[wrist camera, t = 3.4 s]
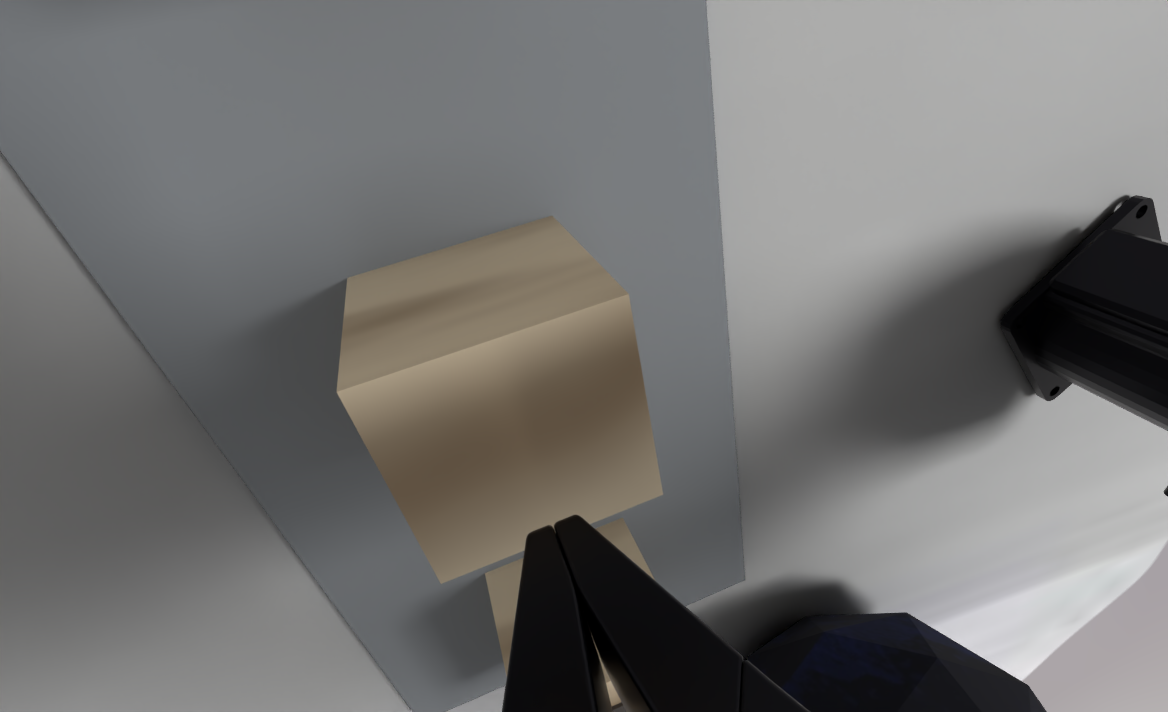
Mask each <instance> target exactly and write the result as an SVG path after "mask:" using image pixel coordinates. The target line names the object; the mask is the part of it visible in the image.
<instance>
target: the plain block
mask: <svg viewBox="0 0 1168 712" xmlns="http://www.w3.org/2000/svg"><path fill="white" fill-rule="evenodd" d="M337 394H338V396H339V398H340V399H341V401H342V403H343V405H344V407H345V409H346V410H347V412H348V414H349V416H350V418H351V420H352V421H353V423H354V425H355V427H356V429H357V431H358V433H359V434H360V436H361V438H362V440H363V442H364V444H365V445H366V447H367V449H368V451H369V453H370V455H371V456H372V458H373V460H374V462H375V464H376V466H377V467H378V469H379V471H380V473H381V475H382V477H383V478H384V480H385V482H386V484H387V486H388V488H389V489H390V491H391V493H392V495H393V497H394V499H395V501H396V502H397V504H398V506H399V508H400V510H401V512H402V513H403V515H404V517H405V519H406V521H407V523H408V524H409V526H410V528H411V530H412V532H413V534H414V535H415V537H416V539H417V541H418V543H419V545H420V546H421V548H422V550H423V552H424V554H425V556H426V558H427V559H428V561H429V563H430V565H431V567H432V569H433V570H434V572H435V574H436V576H437V578H438V580H439V581H440V583H441V584H442V583H445V582H447V581H450V580H452V579H455V578H457V577H460V576H462V575H465V574H467V573H470V572H472V571H475V570H477V569H480V568H482V567H485V566H487V565H490V564H492V563H495V562H497V561H500V560H502V559H504V558H507V557H509V556H512V555H514V554H517V553H519V552H522V551H524V550H525V543H526V537H527V535H528V534H529V533H530V532H532V531H534V530H537V529H539V528H542V527H544V526H547V525H551V526H553V528H554V524H555V523H556V522H557V521H559V520H562V519H565V518H567V517H570V516H572V515H579V516H581V517H582V518H583V519H584V520H586V521H587V522H588V523H589V524H592V523H594V522H597V521H599V520H602V519H604V518H607V517H609V516H611V515H614V514H616V513H619V512H621V511H624V510H626V509H629V508H631V507H634V506H636V505H639V504H641V503H644V502H646V501H649V500H651V499H654V498H656V497H659V496H661V495H663V491H662V485H661V479H660V473H659V467H658V461H657V456H656V450H655V444H654V438H653V432H652V427H651V421H650V415H649V409H648V403H647V397H646V392H645V386H644V380H643V374H642V368H641V362H640V357H639V351H638V345H637V339H636V333H635V328H634V322H633V316H632V310H631V304H630V298H629V294H628V293H627V292H626V291H625V290H624V289H623V288H622V287H621V286H620V284H619V283H618V282H617V281H616V280H615V279H614V278H613V277H612V276H611V275H610V274H609V273H608V272H607V271H606V270H605V269H604V268H603V267H602V266H601V265H600V264H599V263H598V262H597V261H596V260H595V259H594V258H593V257H592V256H591V255H590V254H589V253H588V252H587V251H586V250H585V249H584V248H583V247H582V246H581V245H580V244H579V243H578V241H577V240H576V239H575V238H574V237H573V236H572V235H571V234H570V233H569V232H568V231H567V230H566V229H565V228H564V227H563V226H562V225H561V224H560V223H559V222H558V221H557V220H556V219H555V218H554V217H553V216H549V217H546V218H543V219H539V220H536V221H533V222H529V223H526V224H523V225H520V226H516V227H513V228H510V229H506V230H503V231H500V232H497V233H493V234H490V235H487V236H483V237H480V238H477V239H474V240H470V241H467V242H464V243H460V244H457V245H454V246H451V247H447V248H444V249H441V250H437V251H434V252H431V253H428V254H424V255H421V256H418V257H414V258H411V259H408V260H405V261H401V262H398V263H395V264H391V265H388V266H385V267H382V268H378V269H375V270H372V271H368V272H365V273H362V274H359V275H355V276H352V277H349V278H347V286H346V297H345V307H344V318H343V329H342V339H341V350H340V360H339V371H338V381H337ZM554 530H555V529H554ZM555 533H556V532H555Z"/></svg>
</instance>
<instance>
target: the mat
mask: <svg viewBox="0 0 1168 712" xmlns="http://www.w3.org/2000/svg"><path fill="white" fill-rule="evenodd" d="M0 151H1V153H2V154H3V155H4V157H5V158H6V159H7V161H8V162H9V163H10V165H11V166H12V168H13V169H14V170H15V172H16V173H17V174H18V176H19V177H20V178H21V180H22V181H23V183H24V184H25V185H26V187H27V188H28V189H29V191H30V192H31V193H32V195H33V196H34V197H35V199H36V200H37V202H38V203H39V204H40V206H41V207H42V208H43V210H44V211H45V212H46V214H47V215H48V217H49V218H50V219H51V221H52V222H53V223H54V225H55V226H56V227H57V229H58V230H59V231H60V233H61V234H62V236H63V237H64V238H65V240H66V241H67V242H68V244H69V245H70V246H71V248H72V249H73V251H74V252H75V253H76V255H77V256H78V257H79V259H80V260H81V261H82V263H83V264H84V265H85V267H86V268H87V270H88V271H89V272H90V274H91V275H92V276H93V278H94V279H95V280H96V282H97V283H98V285H99V286H100V287H101V289H102V290H103V291H104V293H105V294H106V295H107V297H108V298H109V299H110V301H111V302H112V304H113V305H114V306H115V308H116V309H117V310H118V312H119V313H120V314H121V316H122V317H123V319H124V320H125V321H126V323H127V324H128V325H129V327H130V328H131V329H132V331H133V332H134V333H135V335H136V336H137V338H138V339H139V340H140V342H141V343H142V344H143V346H144V347H145V348H146V350H147V351H148V353H149V354H150V355H151V357H152V358H153V359H154V361H155V362H156V363H157V365H158V366H159V367H160V369H161V370H162V372H163V373H164V374H165V376H166V377H167V378H168V380H169V381H170V382H171V384H172V385H173V387H174V388H175V389H176V391H177V392H178V393H179V395H180V396H181V397H182V399H183V400H184V401H185V403H186V404H187V406H188V407H189V408H190V410H191V411H192V412H193V414H194V415H195V416H196V418H197V419H198V420H199V422H200V423H201V425H202V426H203V427H204V429H205V430H206V431H207V433H208V434H209V435H210V437H211V438H212V440H213V441H214V442H215V444H216V445H217V446H218V448H219V449H220V450H221V452H222V453H223V454H224V456H225V457H226V459H227V460H228V461H229V463H230V464H231V465H232V467H233V468H234V469H235V471H236V472H237V474H238V475H239V476H240V478H241V479H242V480H243V482H244V483H245V484H246V486H247V487H248V488H249V490H250V491H251V493H252V494H253V495H254V497H255V498H256V499H257V501H258V502H259V503H260V505H261V506H262V508H263V509H264V510H265V512H266V513H267V514H268V516H269V517H270V518H271V520H272V521H273V522H274V524H275V525H276V527H277V528H278V529H279V531H280V532H281V533H282V535H283V536H284V537H285V539H286V540H287V542H288V543H289V544H290V546H291V547H292V548H293V550H294V551H295V552H296V554H297V555H298V556H299V558H300V559H301V561H302V562H303V563H304V565H305V566H306V567H307V569H308V570H309V571H310V573H311V574H312V576H313V577H314V578H315V580H316V581H317V582H318V584H319V585H320V586H321V588H322V589H323V590H324V592H325V593H326V595H327V596H328V597H329V599H330V600H331V601H332V603H333V604H334V605H335V607H336V608H337V610H338V611H339V612H340V614H341V615H342V616H343V618H344V619H345V620H346V622H347V623H348V624H349V626H350V627H351V629H352V630H353V631H354V633H355V634H356V635H357V637H358V638H359V639H360V641H361V642H362V644H363V645H364V646H365V648H366V649H367V650H368V652H369V653H370V654H371V656H372V657H373V658H374V660H375V661H376V663H377V664H378V665H379V667H380V668H381V669H382V671H383V672H384V673H385V675H386V676H387V678H388V679H389V680H390V682H391V683H392V684H393V686H394V687H395V688H396V690H397V691H398V692H399V694H400V695H401V697H402V698H403V699H404V701H405V702H406V703H407V705H408V706H409V707H410V709H411V710H412V711H413V712H446V711H448V710H450V709H453V708H455V707H457V706H459V705H462V704H464V703H466V702H469V701H471V700H473V699H475V698H478V697H480V696H482V695H484V694H487V693H489V692H491V691H494V690H496V689H498V688H500V687H503V686H505V685H506V679H507V676H506V672H505V667H504V662H503V657H502V652H501V648H500V643H499V638H498V633H497V629H496V624H495V619H494V614H493V610H492V605H491V600H490V595H489V591H488V586H487V581H486V576H485V573H487V572H489V571H492V570H494V569H497V568H499V567H502V566H504V565H507V564H509V563H512V562H514V561H516V560H519V559H521V558H523V557H524V551H522V552H519V553H517V554H514V555H512V556H509V557H507V558H504V559H502V560H500V561H497V562H495V563H492V564H490V565H487V566H485V567H482V568H480V569H477V570H475V571H472V572H470V573H467V574H465V575H462V576H460V577H457V578H455V579H452V580H450V581H447V582H445V583H442V584H441V583H440V581H439V580H438V578H437V576H436V574H435V572H434V570H433V569H432V567H431V565H430V563H429V561H428V559H427V558H426V556H425V554H424V552H423V550H422V548H421V546H420V545H419V543H418V541H417V539H416V537H415V535H414V534H413V532H412V530H411V528H410V526H409V524H408V523H407V521H406V519H405V517H404V515H403V513H402V512H401V510H400V508H399V506H398V504H397V502H396V501H395V499H394V497H393V495H392V493H391V491H390V489H389V488H388V486H387V484H386V482H385V480H384V478H383V477H382V475H381V473H380V471H379V469H378V467H377V466H376V464H375V462H374V460H373V458H372V456H371V455H370V453H369V451H368V449H367V447H366V445H365V444H364V442H363V440H362V438H361V436H360V434H359V433H358V431H357V429H356V427H355V425H354V423H353V421H352V420H351V418H350V416H349V414H348V412H347V410H346V409H345V407H344V405H343V403H342V401H341V399H340V398H339V396H338V394H337V381H338V371H339V360H340V350H341V339H342V329H343V318H344V307H345V297H346V286H347V278H349V277H352V276H355V275H359V274H362V273H365V272H368V271H372V270H375V269H378V268H382V267H385V266H388V265H391V264H395V263H398V262H401V261H405V260H408V259H411V258H414V257H418V256H421V255H424V254H428V253H431V252H434V251H437V250H441V249H444V248H447V247H451V246H454V245H457V244H460V243H464V242H467V241H470V240H474V239H477V238H480V237H483V236H487V235H490V234H493V233H497V232H500V231H503V230H506V229H510V228H513V227H516V226H520V225H523V224H526V223H529V222H533V221H536V220H539V219H543V218H546V217H549V216H553V217H554V218H555V219H556V220H557V221H558V222H559V223H560V224H561V225H562V226H563V227H564V228H565V229H566V230H567V231H568V232H569V233H570V234H571V235H572V236H573V237H574V238H575V239H576V240H577V241H578V243H579V244H580V245H581V246H582V247H583V248H584V249H585V250H586V251H587V252H588V253H589V254H590V255H591V256H592V257H593V258H594V259H595V260H596V261H597V262H598V263H599V264H600V265H601V266H602V267H603V268H604V269H605V270H606V271H607V272H608V273H609V274H610V275H611V276H612V277H613V278H614V279H615V280H616V281H617V282H618V283H619V284H620V286H621V287H622V288H623V289H624V290H625V291H626V292H627V293H628V294H629V298H630V304H631V310H632V316H633V322H634V328H635V333H636V339H637V345H638V351H639V357H640V362H641V368H642V374H643V380H644V386H645V392H646V397H647V403H648V409H649V415H650V421H651V427H652V432H653V438H654V444H655V450H656V456H657V461H658V467H659V473H660V479H661V485H662V491H663V495H661V496H659V497H656V498H654V499H651V500H649V501H646V502H644V503H641V504H639V505H636V506H634V507H631V508H629V509H626V510H624V511H621V512H619V513H616V514H614V515H611V516H609V517H607V518H604V519H602V520H599V521H597V522H594V523H592V524H590V525H591V526H593V527H594V528H595V529H596V528H598V527H601V526H603V525H606V524H608V523H611V522H613V521H616V520H618V519H620V518H623V519H624V521H625V523H626V525H627V527H628V529H629V531H630V533H631V535H632V537H633V538H634V540H635V542H636V544H637V546H638V548H639V550H640V552H641V554H642V556H643V558H644V560H645V562H646V564H647V566H648V568H649V569H650V571H651V573H652V575H653V577H654V579H655V581H656V582H657V583H659V584H660V585H661V586H662V587H663V588H664V589H666V590H667V591H668V592H669V593H670V594H671V595H673V596H674V597H675V598H676V599H677V600H678V601H679V602H681V603H682V604H683V605H684V606H687V605H689V604H691V603H694V602H696V601H698V600H701V599H703V598H705V597H707V596H710V595H712V594H714V593H716V592H719V591H721V590H723V589H726V588H728V587H730V586H732V585H735V584H737V583H739V582H741V581H744V580H745V572H744V557H743V542H742V527H741V512H740V497H739V482H738V467H737V453H736V438H735V423H734V408H733V393H732V378H731V363H730V348H729V333H728V319H727V304H726V289H725V274H724V259H723V244H722V229H721V214H720V199H719V184H718V170H717V155H716V140H715V125H714V110H713V95H712V80H711V65H710V50H709V36H708V21H707V6H706V0H0Z"/></svg>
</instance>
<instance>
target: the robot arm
mask: <svg viewBox="0 0 1168 712" xmlns="http://www.w3.org/2000/svg"><path fill="white" fill-rule="evenodd" d="M1001 329H1002V331H1003V333H1004V334H1005V336H1006V338H1007V340H1008V342H1009V344H1010V346H1011V348H1012V349H1013V351H1014V353H1015V355H1016V357H1017V359H1018V361H1019V363H1020V365H1021V366H1022V368H1023V370H1024V372H1025V374H1026V376H1027V378H1028V380H1029V382H1030V383H1031V385H1032V387H1033V389H1034V391H1035V393H1036V395H1038V396H1039V397H1041V398H1043V399H1045V400H1046V401H1051V400H1053V399H1055V398H1056V397H1057V396H1059V395H1060V394H1061V393H1062V392H1063V391H1064V390H1065V389H1066V388H1068V387H1069V386H1070V385H1071V384H1072V383H1073V384H1075V385H1077V386H1079V387H1081V388H1083V389H1085V390H1087V391H1089V392H1091V393H1093V394H1095V395H1097V396H1099V397H1101V398H1103V399H1105V400H1107V401H1109V402H1111V403H1113V404H1115V405H1117V406H1119V407H1121V408H1123V409H1125V410H1127V411H1129V412H1131V413H1133V414H1135V415H1137V416H1139V417H1141V418H1143V419H1145V420H1147V421H1149V422H1151V423H1153V424H1155V425H1157V426H1159V427H1161V428H1163V429H1165V430H1167V431H1168V243H1166V242H1162V241H1161V236H1160V231H1159V227H1158V222H1157V217H1156V212H1155V208H1154V203H1153V200H1152V199H1151V198H1146V197H1142V196H1137V195H1136V196H1133V197H1131V198H1130V199H1128V200H1127V201H1126V202H1125V203H1124V204H1123V205H1122V206H1121V207H1119V208H1118V209H1117V210H1116V211H1115V212H1114V213H1113V214H1112V215H1111V216H1110V217H1109V218H1108V219H1107V220H1106V221H1104V222H1103V223H1102V224H1101V225H1100V226H1099V227H1098V228H1097V229H1096V230H1095V231H1094V232H1093V233H1092V234H1090V235H1089V236H1088V237H1087V238H1086V239H1085V240H1084V241H1083V242H1082V243H1081V244H1080V245H1079V246H1078V247H1077V248H1075V249H1074V250H1073V251H1072V252H1071V253H1070V254H1069V255H1068V256H1067V257H1066V258H1065V259H1064V260H1063V261H1061V262H1060V263H1059V264H1058V265H1057V266H1056V267H1055V268H1054V269H1053V270H1052V271H1051V272H1050V273H1049V274H1048V275H1046V276H1045V277H1044V278H1043V279H1042V280H1041V281H1040V282H1039V283H1038V284H1037V285H1036V286H1035V287H1034V288H1032V289H1031V290H1030V291H1029V292H1028V293H1027V294H1026V295H1025V296H1024V297H1023V298H1022V299H1021V300H1020V301H1019V302H1017V303H1016V304H1015V305H1014V306H1013V307H1012V308H1011V309H1010V310H1009V311H1008V312H1007V313H1006V314H1005V315H1004V317H1003V319H1002V321H1001ZM1164 494H1165V495H1166V496H1168V486H1167V488H1166V489H1165V490H1164ZM554 529H555V530H554ZM555 532H556V533H555ZM595 645H596V646H595ZM596 648H597V649H596ZM597 650H598V652H597ZM598 653H599V656H600V658H601V661H602V663H603V665H604V667H605V669H606V672H607V674H608V676H609V678H610V680H611V682H612V684H613V686H614V688H615V690H616V692H617V694H618V696H619V698H620V700H621V702H622V704H623V706H624V708H625V710H626V712H810V711H809V710H807V709H806V708H805V707H803V706H802V705H801V704H800V703H799V702H797V701H796V700H795V699H794V698H792V697H791V696H790V695H789V694H787V693H786V692H785V691H784V690H783V689H781V688H780V687H779V686H778V685H776V684H775V683H774V682H773V681H771V680H770V679H769V678H768V677H767V676H766V675H764V674H763V673H762V672H761V671H760V670H759V669H757V668H756V667H755V666H754V665H753V664H752V663H751V662H749V661H748V660H745V661H744V662H743V656H742V655H741V654H740V653H739V652H737V651H736V650H735V649H734V648H733V647H732V646H730V645H729V644H728V643H727V642H726V641H725V640H723V639H722V638H721V637H720V636H719V635H718V634H717V633H715V632H714V631H713V630H712V629H711V628H710V627H708V626H707V625H706V624H705V623H704V622H703V621H701V620H700V619H699V618H698V617H697V616H696V615H695V614H693V613H692V612H691V611H690V610H689V609H688V608H686V607H685V606H684V605H683V604H682V603H681V602H679V601H678V600H677V599H676V598H675V597H674V596H673V595H671V594H670V593H669V592H668V591H667V590H666V589H664V588H663V587H662V586H661V585H660V584H659V583H657V582H656V581H655V580H654V579H653V578H652V577H651V576H649V575H648V574H647V573H646V572H645V571H644V570H642V569H641V568H640V567H639V566H638V565H637V564H635V563H634V562H633V561H632V560H631V559H630V558H628V557H627V556H626V555H625V554H624V553H623V552H622V551H620V550H619V549H618V548H617V547H616V546H615V545H613V544H612V543H611V542H610V541H609V540H608V539H606V538H605V537H604V536H603V535H602V534H601V533H600V532H598V531H597V530H596V529H595V528H594V527H593V526H591V525H590V524H589V523H588V522H587V521H586V520H584V519H583V518H582V517H581V516H579V515H572V516H570V517H567V518H565V519H562V520H559V521H557V522H556V523H555V524H554V528H553V526H551V525H547V526H544V527H542V528H539V529H537V530H534V531H532V532H530V533H529V534H528V535H527V537H526V543H525V550H524V557H523V564H522V571H521V579H520V586H519V593H518V600H517V607H516V614H515V622H514V629H513V636H512V643H511V650H510V657H509V665H508V672H507V679H506V686H505V693H504V700H503V708H502V712H613V711H612V706H611V702H610V698H609V694H608V689H607V685H606V681H605V677H604V673H603V669H602V665H601V662H600V659H599V656H598Z"/></svg>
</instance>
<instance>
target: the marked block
mask: <svg viewBox="0 0 1168 712" xmlns="http://www.w3.org/2000/svg"><path fill="white" fill-rule="evenodd" d="M596 530H597V531H598V532H600V533H601V534H602V535H603V536H604V537H605V538H606V539H608V540H609V541H610V542H611V543H612V544H613V545H615V546H616V547H617V548H618V549H619V550H620V551H622V552H623V553H624V554H625V555H626V556H627V557H628V558H630V559H631V560H632V561H633V562H634V563H635V564H637V565H638V566H639V567H640V568H641V569H642V570H644V571H645V572H646V573H647V574H648V575H649V576H651V577H652V578H653V579H654V577H653V575H652V573H651V571H650V569H649V568H648V566H647V564H646V562H645V560H644V558H643V556H642V554H641V552H640V550H639V548H638V546H637V544H636V542H635V540H634V538H633V537H632V535H631V533H630V531H629V529H628V527H627V525H626V523H625V521H624V519H623V518H620V519H618V520H616V521H613V522H611V523H608V524H606V525H603V526H601V527H598V528H596ZM522 564H523V558H521V559H519V560H516V561H514V562H512V563H509V564H507V565H504V566H502V567H499V568H497V569H494V570H492V571H489V572H487V573H485V576H486V581H487V586H488V591H489V595H490V600H491V605H492V610H493V614H494V619H495V624H496V629H497V633H498V638H499V643H500V648H501V652H502V657H503V662H504V667H505V672H506V676H507V672H508V665H509V657H510V650H511V643H512V636H513V629H514V622H515V614H516V607H517V600H518V593H519V586H520V579H521V571H522ZM654 580H655V579H654ZM595 646H596V645H595ZM596 649H597V648H596ZM597 652H598V650H597ZM598 656H599V653H598ZM599 659H600V662H601V665H602V669H603V673H604V677H605V681H606V685H607V689H608V694H609V698H610V702H611V706H612V711H613V712H626V710H625V708H624V706H623V704H622V702H621V700H620V698H619V696H618V694H617V692H616V690H615V688H614V686H613V684H612V682H611V680H610V678H609V676H608V674H607V672H606V669H605V667H604V665H603V663H602V661H601V658H600V656H599Z"/></svg>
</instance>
